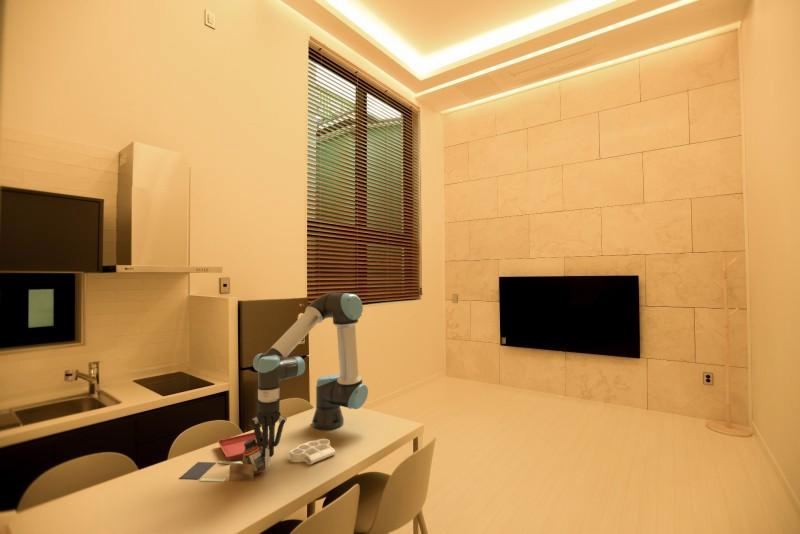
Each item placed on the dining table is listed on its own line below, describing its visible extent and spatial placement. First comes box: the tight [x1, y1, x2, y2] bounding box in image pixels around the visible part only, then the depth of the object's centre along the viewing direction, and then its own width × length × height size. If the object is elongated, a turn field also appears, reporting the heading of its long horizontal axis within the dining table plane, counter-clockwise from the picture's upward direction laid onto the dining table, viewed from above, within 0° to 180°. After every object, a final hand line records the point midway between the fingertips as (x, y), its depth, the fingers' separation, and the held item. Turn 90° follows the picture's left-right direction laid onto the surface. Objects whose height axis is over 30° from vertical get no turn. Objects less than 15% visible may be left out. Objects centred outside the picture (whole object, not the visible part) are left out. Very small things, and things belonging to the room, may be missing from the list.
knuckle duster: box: [289, 438, 336, 465], centre depth 155 cm, size 3×18×15 cm
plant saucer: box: [217, 430, 269, 461], centre depth 159 cm, size 18×18×3 cm
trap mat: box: [178, 461, 217, 480], centre depth 141 cm, size 7×12×1 cm, turn 178°
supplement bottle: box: [244, 438, 268, 475], centre depth 140 cm, size 6×6×11 cm
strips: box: [198, 460, 243, 483], centre depth 141 cm, size 8×14×1 cm, turn 178°
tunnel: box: [228, 452, 255, 482], centre depth 140 cm, size 8×12×5 cm, turn 178°
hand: (268, 465), depth 140 cm, fingers closed
